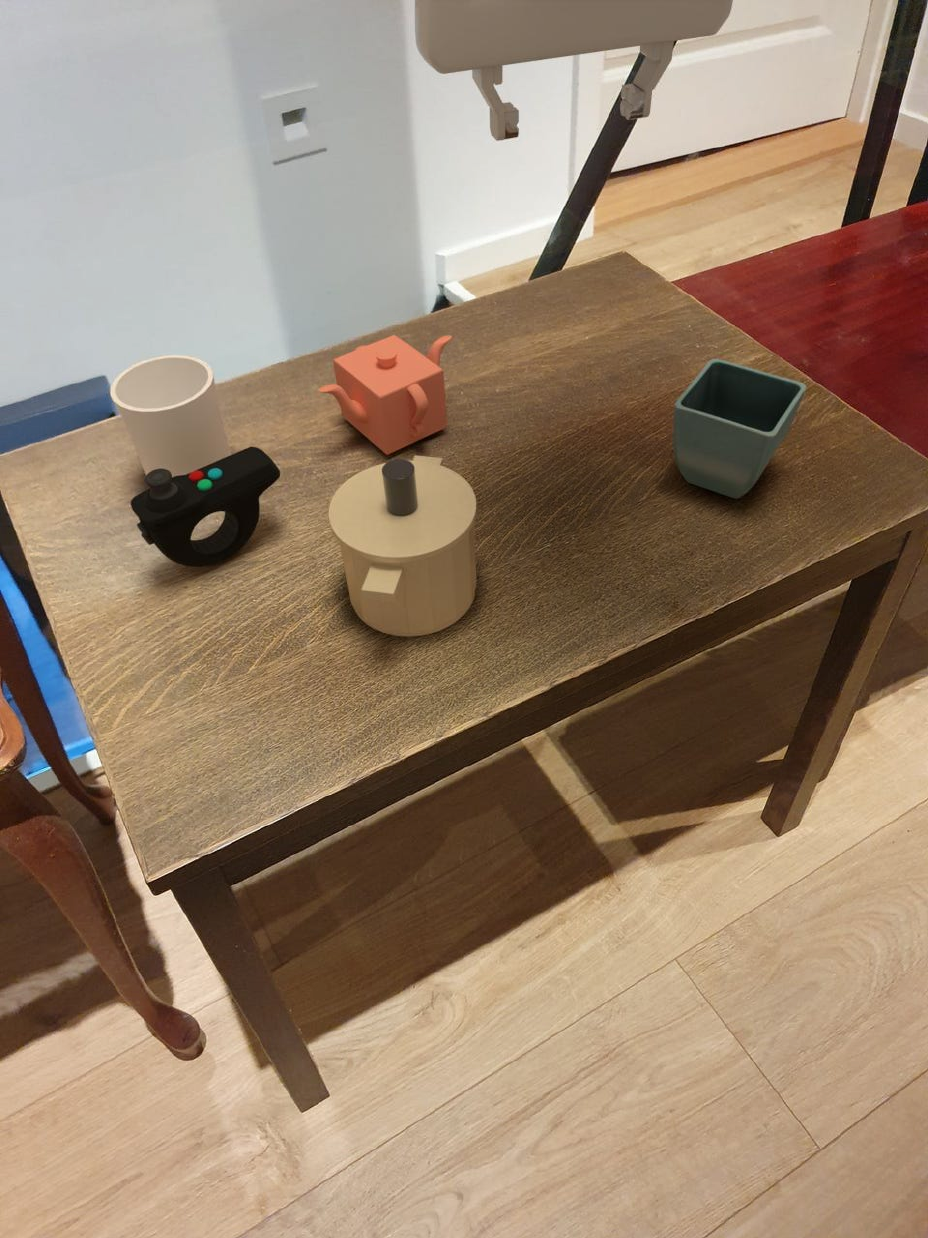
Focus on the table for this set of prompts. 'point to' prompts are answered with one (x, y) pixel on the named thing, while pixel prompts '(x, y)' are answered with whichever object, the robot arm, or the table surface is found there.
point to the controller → (205, 507)
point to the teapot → (391, 391)
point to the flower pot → (732, 425)
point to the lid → (402, 511)
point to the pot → (413, 587)
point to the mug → (172, 413)
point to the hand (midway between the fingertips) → (570, 126)
